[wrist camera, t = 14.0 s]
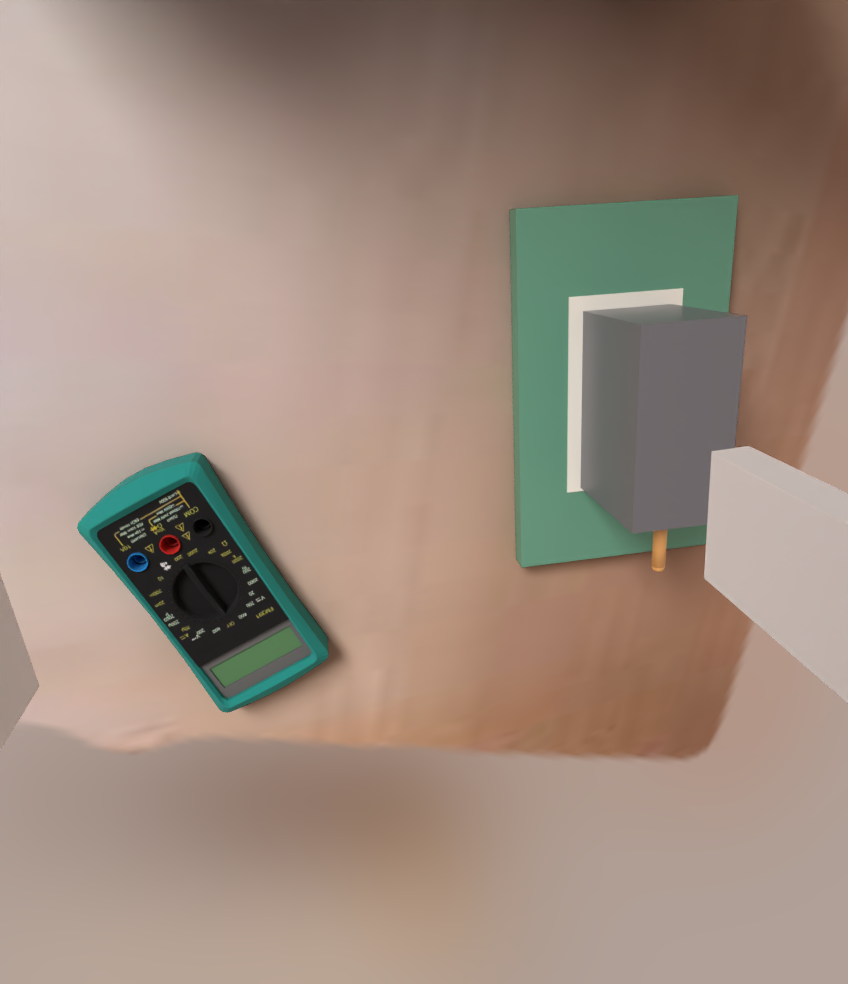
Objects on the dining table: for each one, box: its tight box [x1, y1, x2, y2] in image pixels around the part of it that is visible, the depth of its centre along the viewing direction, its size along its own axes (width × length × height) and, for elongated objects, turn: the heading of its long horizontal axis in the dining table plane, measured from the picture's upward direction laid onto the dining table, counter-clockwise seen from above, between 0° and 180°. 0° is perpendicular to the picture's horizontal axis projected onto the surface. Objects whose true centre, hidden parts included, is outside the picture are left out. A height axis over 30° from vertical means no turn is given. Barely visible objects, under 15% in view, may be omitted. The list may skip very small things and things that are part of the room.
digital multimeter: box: [77, 452, 328, 712], centre depth 39 cm, size 7×15×3 cm, turn 27°
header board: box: [510, 195, 738, 567], centre depth 38 cm, size 20×12×5 cm, turn 4°
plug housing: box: [580, 304, 747, 572], centre depth 36 cm, size 13×5×7 cm, turn 4°
